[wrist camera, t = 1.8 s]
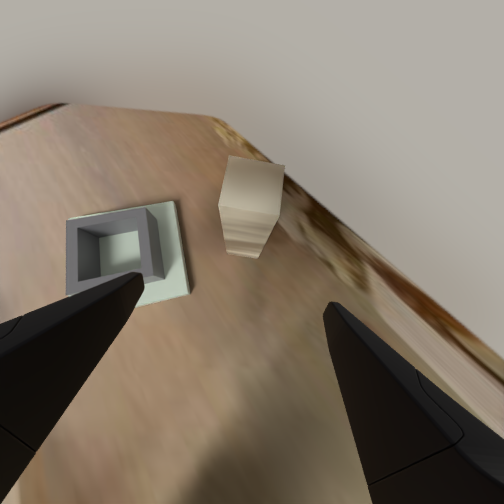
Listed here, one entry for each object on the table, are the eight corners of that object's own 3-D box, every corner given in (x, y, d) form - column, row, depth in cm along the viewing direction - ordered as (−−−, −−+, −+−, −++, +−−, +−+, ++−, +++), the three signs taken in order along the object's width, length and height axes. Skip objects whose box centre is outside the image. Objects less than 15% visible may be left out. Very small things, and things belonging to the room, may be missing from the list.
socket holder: (190, 294, 21) (179, 292, 17) (78, 321, 19) (36, 327, 15) (175, 205, 24) (163, 186, 20) (77, 222, 22) (42, 205, 18)
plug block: (257, 258, 23) (279, 215, 12) (227, 253, 23) (218, 205, 11) (261, 230, 24) (284, 165, 13) (232, 225, 24) (229, 155, 12)
